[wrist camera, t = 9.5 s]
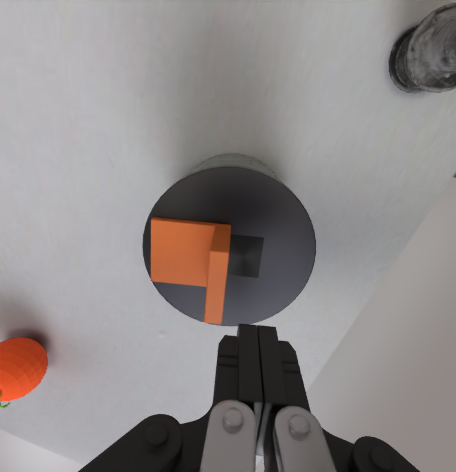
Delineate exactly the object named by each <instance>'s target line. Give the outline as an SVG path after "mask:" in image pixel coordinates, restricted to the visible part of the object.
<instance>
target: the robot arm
mask: <svg viewBox="0 0 456 472" xmlns="http://www.w3.org/2000/svg"><path fill="white" fill-rule="evenodd" d="M256 455H259V456H264V466H265V467H264V468H265V470H264V472H420V471H419V470H418V469H416V468H415V467H414V466H413V465H412V464H411V463H409V462H408V461H407V460H406V459H405V458H404V457H403V456H402V455H400V454H399V453H398V452H397V451H396V450H395V449H393V448H392V447H391V446H390V445H389V444H387V443H385V442H384V441H382V440H380V439H377V438H375V437H370V436H365V437H361V438H359V439H358V440H357V441H356V442H355V444H353V443H350V442H348V441H346V440H343V439H341V438H338V437H336V436H334V435H332V434H330V433H328V432H327V431H326V430H324V429H323V428H322V427H321V425H320V423H319V422H318V420H317V419H316V418H315V416H314V415H313V414H311V411H310V408H309V404H308V400H307V396H306V392H305V388H304V383H303V379H302V375H301V371H300V367H299V365H298V359H297V355H296V351H295V350H294V349H293V347H292V346H291V345H290V343H289V342H287V341H278V336H277V331H276V327H270V326H260V325H257V326H256V325H249V324H240V323H239V324H238V330H237V336H228V335H225V336H224V337H223V339H222V340H221V341H220V343H219V347H218V356H217V366H216V375H215V386H214V396H213V404H212V406H211V408H210V410H209V411H208V412H207V413H206V414H205V415H204V416H203V417H201V418H200V419H198V420H195V421H192V422H188V423H183V424H180V423H179V422H178V421H177V420H176V419H175V418H173V417H172V416H169V415H165V414H156V415H152V416H150V417H148V418H146V419H144V420H143V421H141V422H140V423H139V424H138V425H136V426H135V427H134V428H133V429H131V430H130V431H129V432H128V433H126V434H125V435H124V436H122V437H121V438H120V439H119V440H117V441H116V442H115V443H114V444H112V445H111V446H110V447H109V448H107V449H106V450H105V451H104V452H102V453H101V454H100V455H98V456H97V457H96V458H95V459H93V460H92V461H91V462H90V463H88V464H87V465H86V466H85V467H83V468H82V469H81V470H80V471H78V472H255V466H256Z"/></svg>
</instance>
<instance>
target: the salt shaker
mask: <svg viewBox="0 0 456 472" xmlns="http://www.w3.org/2000/svg"><path fill="white" fill-rule="evenodd" d="M389 72H390V75H391V79H392V80H393V82H394V84H395V85H396V86H397V87H398V88H399V89H401V90H403V91H405V92H408V93H418V92H423V91H428V92H436V93H440V92H445V91H450V90H452V89H454V88H456V3H453V4H448V5H444V6H442V7H440V8H439V9H437V10H435V11H433V12H432V13H430V14H429V15H428V16H427V17H426V18H425V19H424V20H423V21H422V22H421V23H420V25H417V26H415V27H413V28H411V29H409V30H408V31H407V32H406V33H404V34H403V35H402V36H401V37H400V39H399V40H398V41H397V43H396V44H395V46H394V48H393V50H392V52H391V56H390V60H389Z"/></svg>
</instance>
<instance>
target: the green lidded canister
mask: <svg viewBox="0 0 456 472" xmlns="http://www.w3.org/2000/svg"><path fill="white" fill-rule="evenodd" d="M153 217H159V218H169V219H179V220H189V221H198V222H208V223H218V224H228V225H231V235H230V250H229V261H228V270H227V279H226V288H225V298H224V307H223V316H222V323H221V324H214V323H209V324H213V325H220V326H238V324H239V323H240V324H252V323H256V322H259V321H262V320H265V319H267V318H269V317H271V316H273V315H275V314H277V313H279V312H280V311H282V310H283V309H284V308H286V307H287V306H288V305H289V304H290V303H291V302H293V301H294V300H295V299H296V297H297V296H298V295H299V294H300V293H301V291H302V290H303V288H304V287H305V285H306V283H307V282H308V279H309V277H310V275H311V273H312V269H313V266H314V262H315V255H316V240H315V233H314V229H313V225H312V222H311V220H310V217H309V215H308V213H307V211H306V209H305V208H304V206H303V205H302V203H301V202H300V200H299V199H298V198H297V197H296V196H295V195H294V193H293V192H292V191H291V190H290V189H289V188H288V187H287V186H285V185H284V184H283V183H282V182H280V181H279V180H278V179H277V177H276V176H275V175H274V174H273V172H272V171H271V170H270V169H269V168H268V167H267V166H265V165H264V164H263V163H261V162H260V161H258V160H256V159H254V158H252V157H249V156H246V155H241V154H223V155H219V156H215V157H212V158H210V159H208V160H206V161H204V162H203V163H201V164H200V165H199V166H197V167H196V168H195V169H194V170H193V171H192V172H191V173H190V174H189V175H187V176H185V177H183V178H182V179H180V180H179V181H177V182H176V183H175V184H173V185H172V186H171V187H170V188H169V189H168V190H167V191H166V192H165V193H164V194H163V195H162V196H161V197H160V199H159V200H158V201H157V203H156V204H155V205H154V207H153V209H152V211H151V213H150V214H149V217H148V219H147V222H146V225H145V230H144V234H143V257H144V261H145V266H146V269H147V271H148V274H149V277H150V279H151V219H152V218H153ZM152 282H153V284H154V286H155V287H156V289H157V290H158V292H159V293H160V294H161V295H162V296H163V297H164V299H165V300H166V301H167V302H169V303H170V304H171V305H172V306H173V307H174V308H176V309H177V310H179V311H180V312H182V313H183V314H185V315H187V316H189V317H191V318H193V319H196V320H198V321H201V322H204V313H205V301H206V288H207V287H204V286H194V285H184V284H174V283H164V282H154V281H152Z"/></svg>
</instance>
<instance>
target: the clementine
mask: <svg viewBox="0 0 456 472" xmlns="http://www.w3.org/2000/svg"><path fill="white" fill-rule="evenodd" d="M47 365H48V358H47V354H46V351H45V349H44V348H43V347H42V345H41V344H39V343H38V342H36V341H34V340H32V339H29V338H12V339H8V340H6V341H3V342H1V343H0V401H11V400H14V399H18V398H20V397H23V396H24V395H26V394H28V393H29V392H31V391H32V390H33V389H34V388H35V387H36V386H37V385H38V384H39V383H40V382H41V380H42V378H43V377H44V375H45V373H46V370H47ZM10 403H11V402H10ZM10 403H8V404H6V405H5V406H1V404H0V408H5V407H7V406H8V405H9V404H10Z"/></svg>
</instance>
